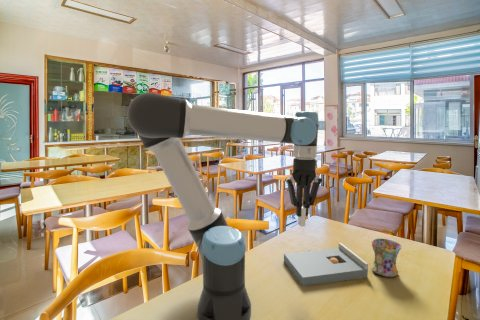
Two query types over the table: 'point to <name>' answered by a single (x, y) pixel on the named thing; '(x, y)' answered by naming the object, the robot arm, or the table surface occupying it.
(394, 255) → the mug
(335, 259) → the ball
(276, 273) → the table surface
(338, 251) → the board
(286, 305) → the table surface
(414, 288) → the table surface
